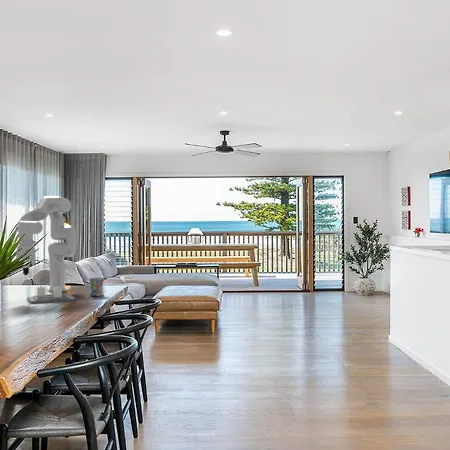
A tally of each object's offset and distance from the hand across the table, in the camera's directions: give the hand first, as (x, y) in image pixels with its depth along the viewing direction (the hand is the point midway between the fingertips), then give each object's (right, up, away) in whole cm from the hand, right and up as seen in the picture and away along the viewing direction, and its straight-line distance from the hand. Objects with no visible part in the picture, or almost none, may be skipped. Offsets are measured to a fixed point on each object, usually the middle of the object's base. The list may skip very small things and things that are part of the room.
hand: (25, 275), depth 297 cm
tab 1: (+7, -13, +4) cm, 16 cm away
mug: (+36, -15, +19) cm, 43 cm away
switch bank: (+13, -15, +3) cm, 20 cm away
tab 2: (+18, -13, +1) cm, 22 cm away
